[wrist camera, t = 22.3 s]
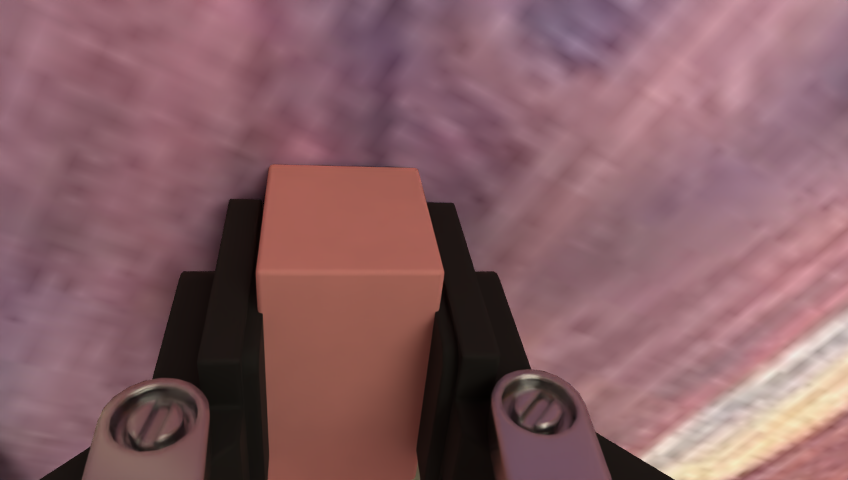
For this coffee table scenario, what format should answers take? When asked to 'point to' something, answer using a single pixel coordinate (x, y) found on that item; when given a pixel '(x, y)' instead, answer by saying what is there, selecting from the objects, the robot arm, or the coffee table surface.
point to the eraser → (346, 319)
